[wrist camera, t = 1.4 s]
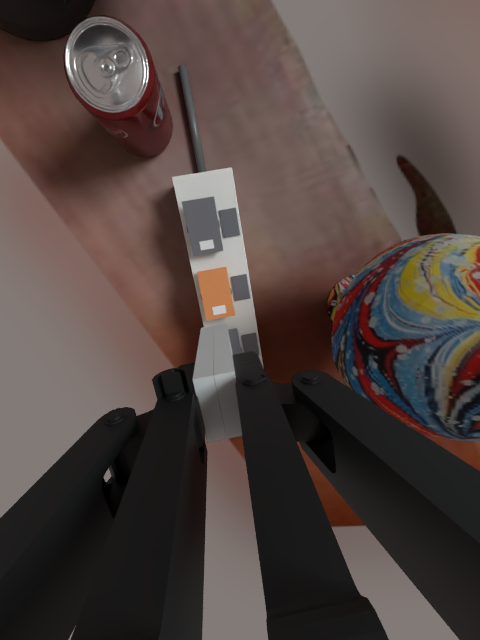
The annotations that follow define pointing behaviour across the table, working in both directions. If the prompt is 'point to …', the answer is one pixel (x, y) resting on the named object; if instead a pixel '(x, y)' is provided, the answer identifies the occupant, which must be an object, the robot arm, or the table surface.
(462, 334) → the vase
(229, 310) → the rocker middle
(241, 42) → the table surface
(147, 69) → the soda can
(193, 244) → the rocker
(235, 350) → the rocker
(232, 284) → the power strip
